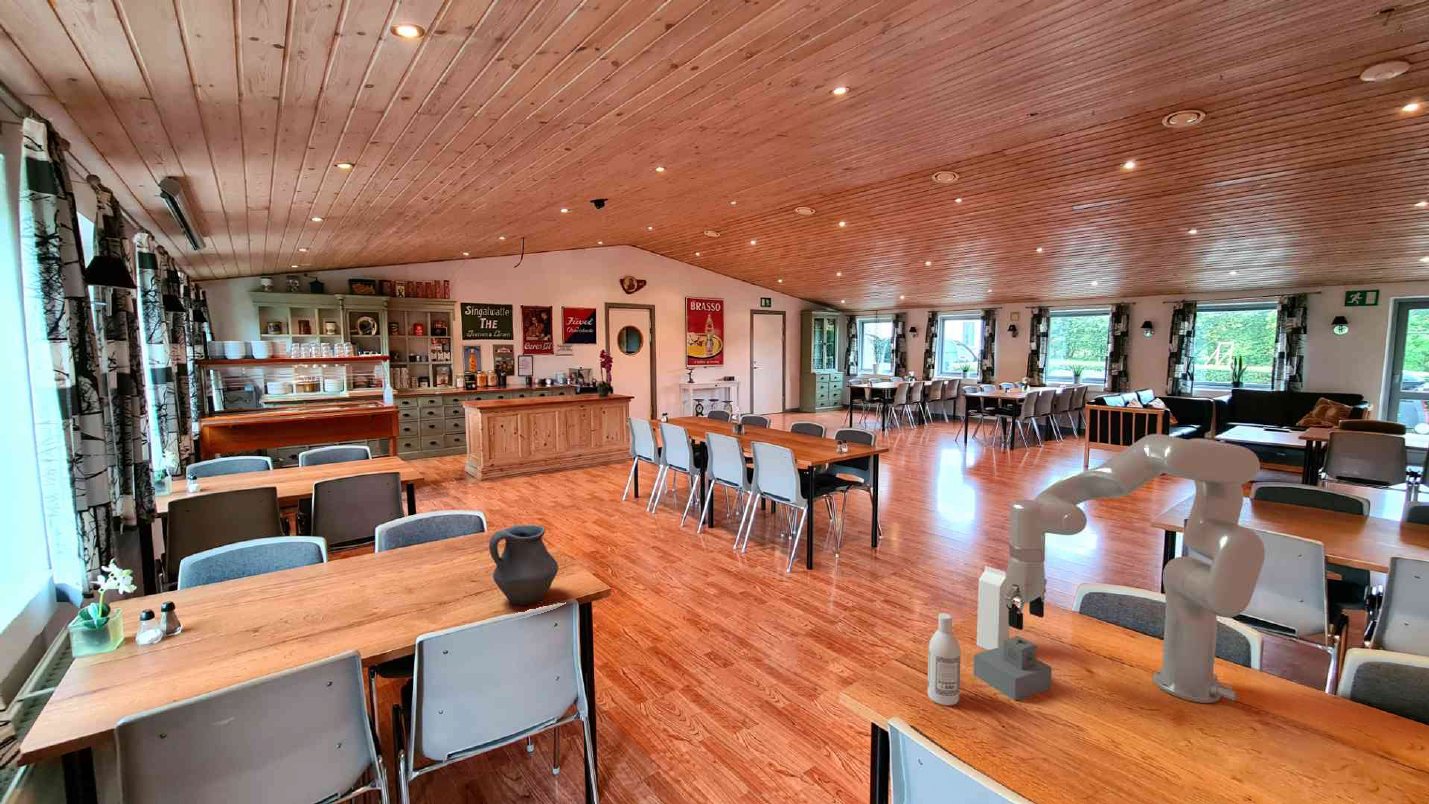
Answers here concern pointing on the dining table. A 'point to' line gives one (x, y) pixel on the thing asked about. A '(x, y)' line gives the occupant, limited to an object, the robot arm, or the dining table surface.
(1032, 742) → the dining table surface
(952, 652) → the bath foam
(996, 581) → the milk
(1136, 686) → the dining table surface
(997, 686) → the grey block
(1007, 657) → the dice cube
